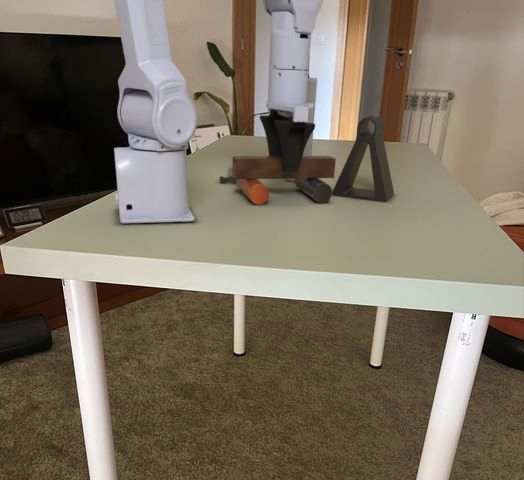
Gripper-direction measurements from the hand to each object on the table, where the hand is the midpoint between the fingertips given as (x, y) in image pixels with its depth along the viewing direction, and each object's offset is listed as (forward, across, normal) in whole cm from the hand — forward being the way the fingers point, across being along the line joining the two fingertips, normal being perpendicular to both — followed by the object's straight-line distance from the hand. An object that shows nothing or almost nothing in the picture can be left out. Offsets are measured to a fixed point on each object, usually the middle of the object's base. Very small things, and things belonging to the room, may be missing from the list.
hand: (283, 167), depth 87 cm
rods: (+4, 0, 0) cm, 4 cm away
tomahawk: (+5, +20, +2) cm, 20 cm away
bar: (+2, 0, 0) cm, 2 cm away
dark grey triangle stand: (+5, 0, -14) cm, 15 cm away
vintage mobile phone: (+5, +13, -7) cm, 15 cm away
